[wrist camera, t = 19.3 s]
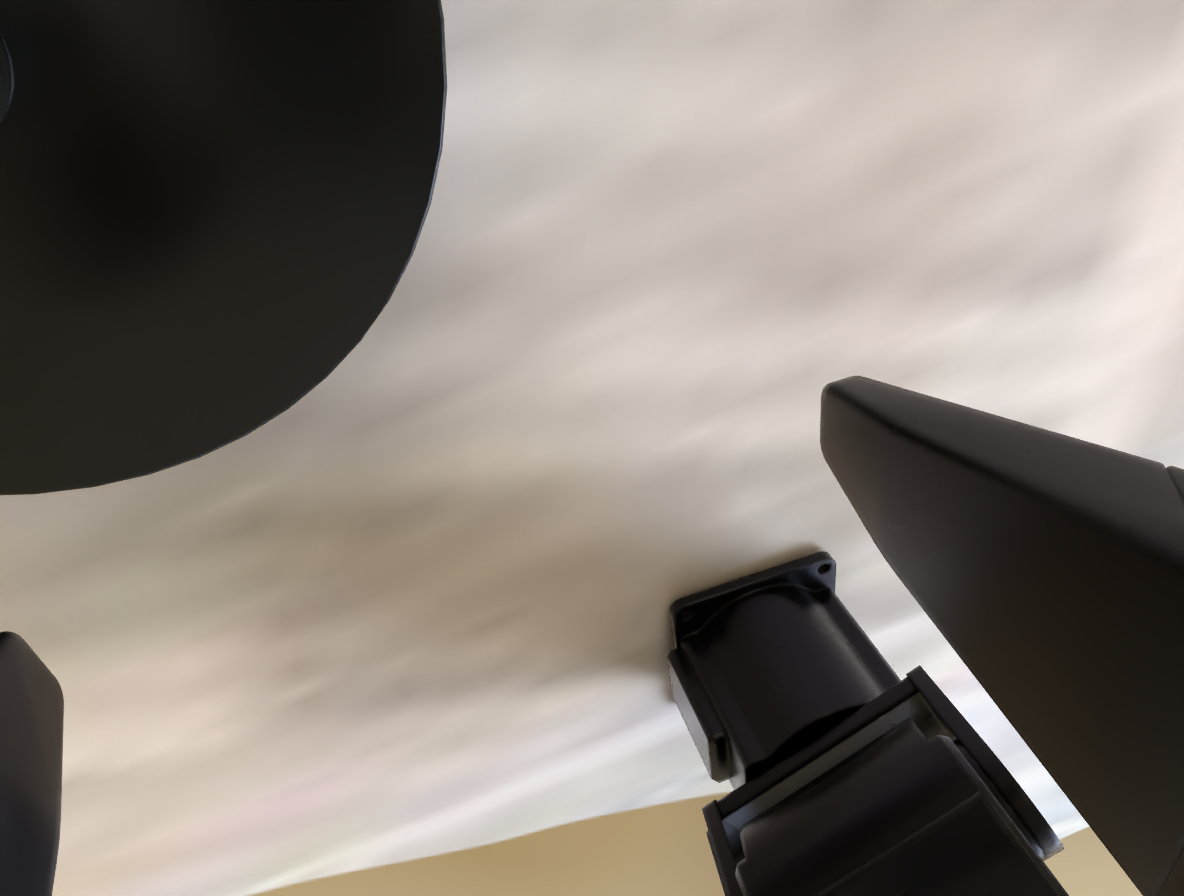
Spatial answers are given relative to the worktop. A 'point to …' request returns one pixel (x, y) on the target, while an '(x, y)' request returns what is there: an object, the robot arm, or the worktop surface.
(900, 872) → the robot arm
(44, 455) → the tin lid
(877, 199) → the worktop surface
